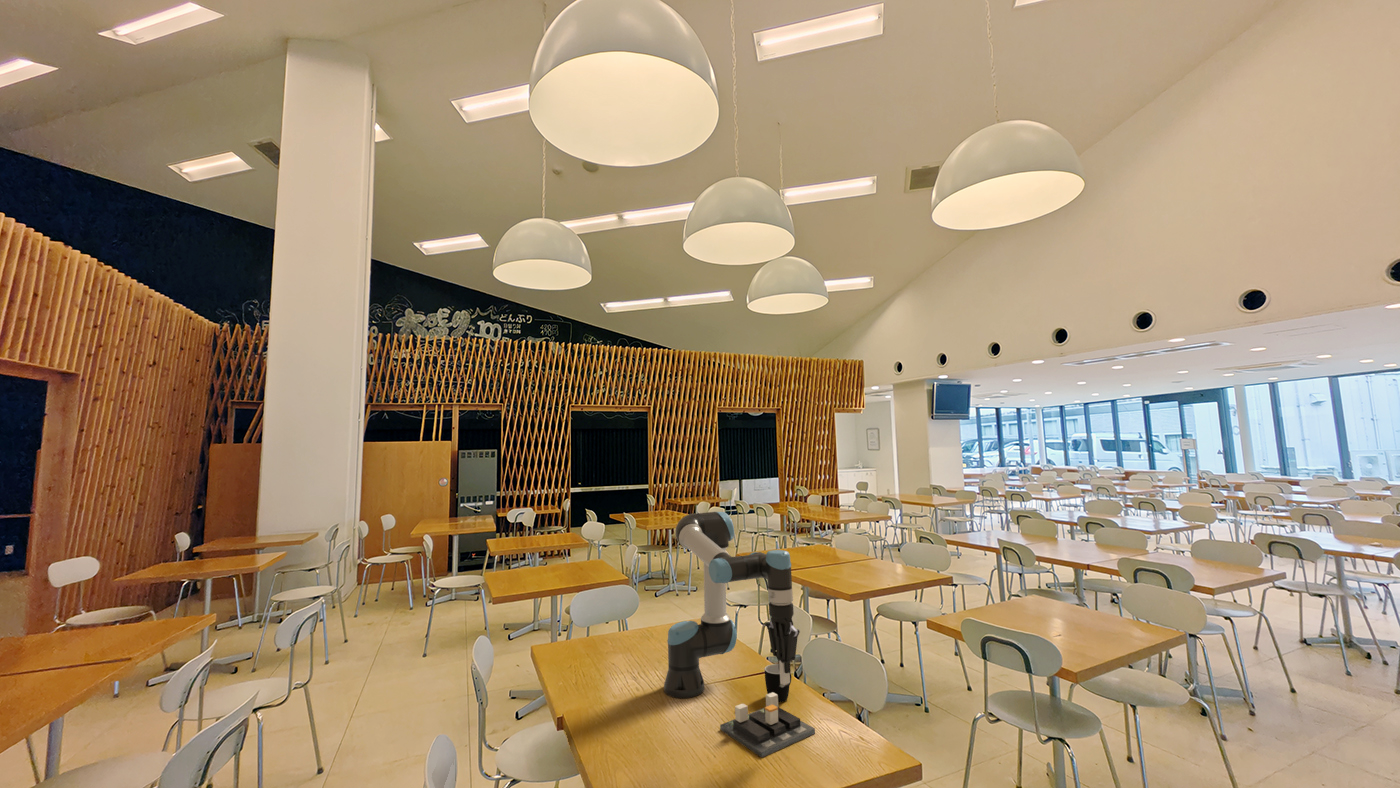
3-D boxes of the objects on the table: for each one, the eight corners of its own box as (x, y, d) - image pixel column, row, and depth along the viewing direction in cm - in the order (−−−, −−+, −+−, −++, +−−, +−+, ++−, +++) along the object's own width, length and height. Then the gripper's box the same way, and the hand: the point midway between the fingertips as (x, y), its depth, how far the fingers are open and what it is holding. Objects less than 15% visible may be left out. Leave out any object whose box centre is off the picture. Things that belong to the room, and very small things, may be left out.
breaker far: (766, 707, 176) (765, 694, 176) (773, 704, 177) (772, 692, 178) (771, 710, 174) (770, 697, 174) (778, 707, 175) (777, 694, 176)
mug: (779, 706, 184) (778, 676, 185) (760, 698, 191) (759, 669, 192) (801, 695, 192) (799, 666, 193) (781, 688, 199) (780, 659, 200)
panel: (720, 729, 170) (720, 718, 170) (771, 709, 182) (771, 698, 182) (761, 757, 153) (761, 744, 154) (815, 733, 166) (814, 721, 166)
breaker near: (735, 719, 168) (735, 706, 169) (743, 716, 170) (742, 703, 170) (740, 722, 166) (739, 709, 167) (748, 719, 168) (747, 706, 169)
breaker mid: (765, 721, 166) (764, 707, 167) (773, 718, 168) (772, 704, 169) (770, 725, 164) (770, 710, 165) (778, 721, 166) (777, 707, 167)
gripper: (757, 600, 168) (761, 679, 165) (786, 608, 158) (791, 693, 154) (775, 596, 172) (779, 673, 169) (804, 604, 162) (809, 686, 159)
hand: (785, 683), depth 162 cm, fingers closed
